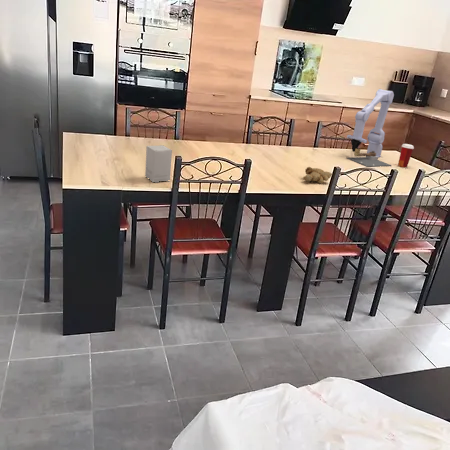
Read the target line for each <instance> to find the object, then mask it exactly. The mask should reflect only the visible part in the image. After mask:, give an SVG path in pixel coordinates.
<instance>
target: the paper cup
mask: <svg viewBox="0 0 450 450" xmlns="http://www.w3.org/2000/svg"><path fill="white" fill-rule="evenodd" d="M414 149H415V147H414V145H412V144H410V143H409V144H408V143H403V144H402V145H401V149H400V153H399V154H400V155H399V159H398V163H397V166H398V167H401V168H407V167H408V165H409V163H410V160H411V157H412V153H413V151H414Z"/></svg>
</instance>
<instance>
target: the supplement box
mask: <svg viewBox="0 0 450 450" xmlns="http://www.w3.org/2000/svg"><path fill="white" fill-rule="evenodd" d="M145 151H146V154H145V156H146V157H145V173H144V175H145V176H146V177H147V178H149V179H150V180H151V181H152V182H151V181H150V180H149V179H148V180H149V181H150V182H151V183H153V182H155V183H160V182H159V181H168V180H170V181H171V171H172V156H173V155H172V154H173V150H172V148H171V149H170V148H169V147H167V146H165V145H147V146H146V149H145ZM145 176H144V177H145ZM146 177H145V178H146ZM147 178H146V179H147ZM168 182H169V181H168Z"/></svg>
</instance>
